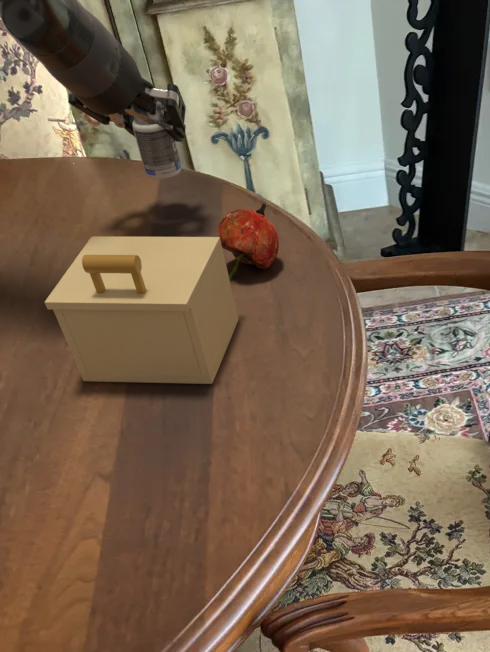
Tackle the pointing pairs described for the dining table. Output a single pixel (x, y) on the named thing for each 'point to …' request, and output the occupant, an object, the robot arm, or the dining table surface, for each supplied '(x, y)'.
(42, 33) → the robot arm
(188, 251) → the chest lid
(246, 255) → the pomegranate
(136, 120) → the pill bottle
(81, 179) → the dining table surface
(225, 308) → the chest
